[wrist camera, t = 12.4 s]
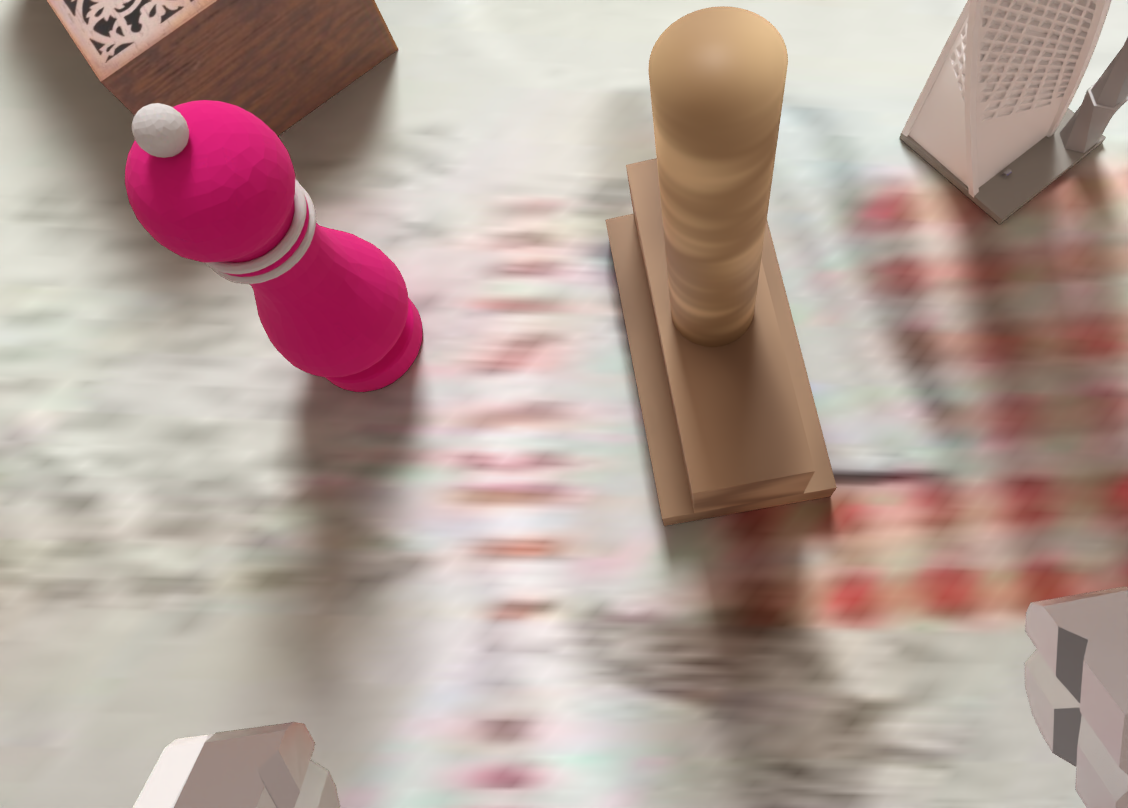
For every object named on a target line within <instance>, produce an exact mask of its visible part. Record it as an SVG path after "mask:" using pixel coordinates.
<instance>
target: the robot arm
mask: <svg viewBox="0 0 1128 808" xmlns="http://www.w3.org/2000/svg"><path fill="white" fill-rule="evenodd" d="M1025 632H1026V633H1027V635H1028V636H1029V638H1030V639H1031V641H1032V642H1033V644H1034V645H1035V647H1036V648H1037V649H1036V650H1035V651H1034V652H1033V654H1032V655H1031V656H1030V657H1029V658H1028V660H1027V661H1026V662H1025V689H1026V693H1027V697H1028V700H1029V704H1030V708H1031V712H1032V715H1033V717H1034V719H1035V721H1036V724H1037V726H1038V728H1039V730H1040V733H1041V734H1042V736H1043V738H1044V739H1045V741H1046V743H1047V744H1048V746H1049V748H1050V749H1051V751H1052V753H1054V754H1055V755H1057V756H1059V757H1060V758H1062V759H1064V760H1066V761H1067V762H1069V763H1071V764H1072V765H1074V766H1076V786H1075V790H1076V791H1077V793H1078V795H1079V796H1080V798H1081V799H1082V801H1083V803H1084V804H1085V806H1086V807H1087V808H1128V587H1119V588H1114V589H1108V590H1102V591H1096V592H1090V593H1084V594H1078V595H1073V596H1067V597H1061V598H1055V599H1049V600H1043V601H1037V602H1031V603H1030V605H1029V608H1028V610H1027V612H1026V626H1025ZM314 747H315V742H314V740H313V738H312V737H311V735H310V733H309V731H308V729H307V728H306V726H305V724H302V723H296V722H291V723H284V724H276V725H269V726H261V727H254V728H247V729H239V730H232V731H224V732H217V733H215V734H210V735H202V736H194V737H186V738H179V739H176V740H174V741H173V742H172V743H170V744H169V745H168V746H167V747H165V748H164V750H163V752H162V753H161V755H160V757H159V759H158V761H157V763H156V765H155V767H154V768H153V770H152V772H151V774H150V776H149V778H148V780H147V782H146V784H145V785H144V787H143V789H142V791H141V793H140V795H139V797H138V799H137V800H136V802H135V804H134V806H133V808H340V803H339V798H338V794H337V789H336V785H335V783H334V781H333V779H332V777H331V775H330V772H329V771H328V770H327V769H325V768H323V767H322V766H320V765H319V764H317V763H315V762H314V761H312V760H310V759H311V756H312V753H313V750H314Z"/></svg>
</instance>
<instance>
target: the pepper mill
mask: <svg viewBox="0 0 1128 808" xmlns="http://www.w3.org/2000/svg"><path fill="white" fill-rule="evenodd" d="M132 133H133V136H134V138H135V141H134V143H133V145H132V147H131V149H130V151H129V153H128V157H127V162H126V167H125V186H126V190H127V194H128V199H129V203H130V205H131V207H132V209H133V211H134V213H135V215H136V217H137V219H138V220H139V222H140V223H141V224H142V226H143V227H144V228H145V229H146V230H147V231H148V232H149V234H150V235H151V236H152V237H153V238H154V239H155V240H156V241H157V242H159V243H160V244H161V245H162V246H164V247H166V248H167V249H169V250H171V251H172V252H174V253H176V254H178V255H179V256H181V257H184V258H188V259H192V260H196V261H200V262H204V263H205V264H206V265H208V266H209V267H211V268H212V269H213V270H214V271H215V272H216V273H217V274H219V275H220V276H221V277H223V278H225V279H227V280H229V281H232V282H236V283H241V284H250V285H251V286H252V288H253V290H254V295H255V300H256V305H257V310H258V314H259V317H260V320H261V323H262V325H263V327H264V329H265V331H266V333H267V335H268V337H269V339H270V341H271V342H272V344H273V345H274V346H275V348H276V349H277V350H278V351H279V352H280V353H281V354H282V355H283V356H284V357H285V358H286V359H287V360H288V361H289V362H290V363H291V364H292V365H293V366H295V367H297V368H299V369H301V370H303V371H305V372H307V373H310V374H312V375H316V376H321V377H325V378H326V379H328V380H329V381H330V382H331V383H333V384H334V385H336V386H338V387H340V388H342V389H345V390H350V391H354V392H367V391H372V390H377V389H380V388H383V387H385V386H387V385H389V384H391V383H393V382H394V381H396V380H397V379H398V378H400V377H401V376H402V375H403V374H404V373H405V372H406V371H407V370H408V369H409V367H410V366H411V365H412V364H413V362H414V360H415V359H416V357H417V355H418V352H419V349H420V346H421V342H422V332H423V331H422V322H421V318H420V315H419V313H418V310H417V309H416V307H415V305H414V304H413V303H412V301H411V300H410V299H409V298H408V292H407V288H406V285H405V282H404V280H403V277H402V275H401V273H400V271H399V270H398V268H397V267H396V265H395V264H394V263H393V262H392V261H391V260H390V259H389V258H388V257H387V256H386V255H385V254H384V253H383V252H382V251H381V250H380V249H378V248H377V247H376V246H374V245H373V244H371V243H369V242H367V241H365V240H363V239H361V238H359V237H357V236H355V235H353V234H350V233H346V232H343V231H338V230H334V229H329V228H326V227H322V226H319V225H318V224H317V223H316V212H315V207H314V205H313V202H312V200H311V198H310V196H309V194H308V193H307V192H306V190H305V189H304V188H303V187H302V186H301V185H300V184H299V182H298V181H297V180H296V178H295V172H294V168H293V164H292V161H291V159H290V156H289V153H288V151H287V149H286V148H285V146H284V145H283V143H282V142H281V140H280V139H279V138H278V136H277V135H276V133H275V132H274V131H273V130H271V129H270V128H269V127H268V126H267V125H266V124H265V123H264V122H263V121H262V120H260V119H259V118H258V117H256V116H255V115H253V114H252V113H250V112H248V111H246V110H244V109H242V108H241V107H239V106H236V105H232V104H229V103H225V102H221V101H211V100H199V101H191V102H187V103H183V104H179V105H176V106H174V107H171V106H169V105H165V104H160V103H155V104H149V105H147V106H144V107H142V108H141V109H140V110H139V111H138V112H137V113H136V115H135V116H134V118H133V121H132Z"/></svg>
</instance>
